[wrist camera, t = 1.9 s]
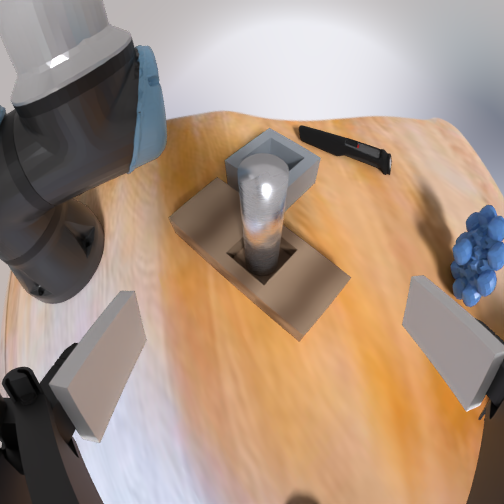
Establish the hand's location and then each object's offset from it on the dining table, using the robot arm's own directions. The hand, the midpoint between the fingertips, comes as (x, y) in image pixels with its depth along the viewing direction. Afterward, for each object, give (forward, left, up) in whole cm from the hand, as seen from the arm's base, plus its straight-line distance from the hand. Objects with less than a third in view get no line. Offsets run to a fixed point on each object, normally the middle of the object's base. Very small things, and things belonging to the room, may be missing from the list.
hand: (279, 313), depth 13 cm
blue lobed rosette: (+12, +24, -19) cm, 33 cm away
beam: (-9, +8, -19) cm, 22 cm away
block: (-15, +18, -19) cm, 29 cm away
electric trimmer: (-10, +30, -19) cm, 37 cm away
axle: (-8, +7, -18) cm, 21 cm away
